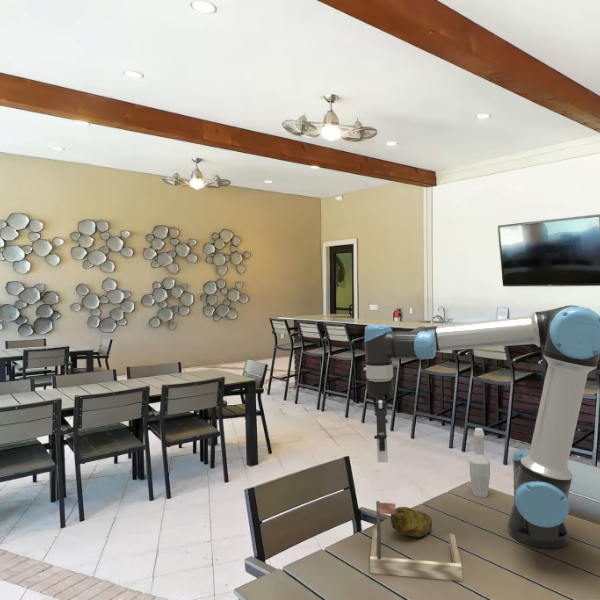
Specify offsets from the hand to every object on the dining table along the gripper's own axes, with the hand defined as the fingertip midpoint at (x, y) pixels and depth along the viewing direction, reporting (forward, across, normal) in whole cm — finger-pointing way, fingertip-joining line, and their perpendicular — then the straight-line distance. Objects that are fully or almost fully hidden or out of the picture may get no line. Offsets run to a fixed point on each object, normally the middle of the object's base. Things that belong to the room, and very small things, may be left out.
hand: (382, 453), depth 135 cm
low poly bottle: (+23, -29, +32) cm, 49 cm away
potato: (+23, 0, +8) cm, 24 cm away
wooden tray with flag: (+23, +12, +7) cm, 27 cm away
